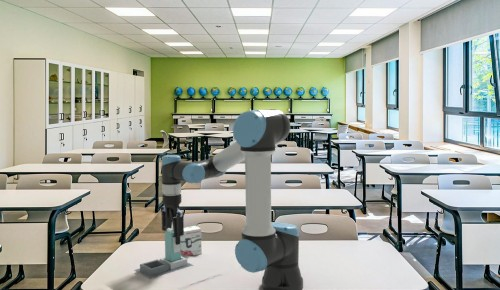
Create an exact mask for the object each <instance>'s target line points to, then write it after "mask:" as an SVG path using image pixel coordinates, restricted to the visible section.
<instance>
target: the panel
mask: <svg viewBox="0 0 500 290" xmlns="http://www.w3.org/2000/svg"><path fill="white" fill-rule="evenodd" d="M193 266H194V265H193V264H192V263H189V262H188V258H186V257H184V256H182V255H181V260H178V261H175V262H170V261H167V260H165V256H163V257H161V258H159V259H154V260H150V261H147V262H143V263H140V264H139V268H137V269H134V271H135V272H137V273H138V274H140V275H143V277H146V278H148V279H149V280H151V279H155V278H157V277H160V276H163V275H167V274H171V273H174V272H176V271H179V270H180V271H181V270H183V269H186V268H188V267H193Z"/></svg>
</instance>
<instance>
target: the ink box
mask: <svg viewBox="0 0 500 290" xmlns="http://www.w3.org/2000/svg"><path fill="white" fill-rule="evenodd" d="M202 254H203V252H202V228H200V227H199V226H198V225H191V226H186V227H184V235H182V236H181V255H184V256H185V255H187V256H189V257H193V256H197V255H202Z"/></svg>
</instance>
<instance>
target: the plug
mask: <svg viewBox="0 0 500 290" xmlns="http://www.w3.org/2000/svg"><path fill="white" fill-rule="evenodd" d="M173 236H174V230H173V228H172V227H171V228H167V230H166V231H165V232H164V253H165V255H164V257H165V260H167V261H170V262H175V261H178V260H181V256H182V253H181V236H180V251H179V252H176V253H174V252H173Z"/></svg>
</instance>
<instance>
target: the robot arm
mask: <svg viewBox="0 0 500 290" xmlns="http://www.w3.org/2000/svg"><path fill="white" fill-rule="evenodd" d="M290 131H291V122H290V119H289V117H288V115H286V113H284V112H283V111H281V110H279V109H253V110H251V109H250V110H247V111H244V112H242V113H240V114H239V115H238V116H237V118H236V119H235V121H234V123H233V128H232V134H233V139H234V140H236V141H235V142H233V143H231V145H228V146H227V147H226V148H224V149H222V150H221V151H219V152H217V153H216V154H215V155H213V156H212V157H210V158H208V159H203V160H198V161H191V162H186V161H182V158H181V156H180V155H179V154H166V155H163V156H162V157H161V167H160V168H161V194H162V204H163V205H164V206H160V211H161V212H160V214H161V230H162V232H164V233H165V231H166V230H167V228H171V229H173V230H174V236H173V252H174V253H176V252H179V251H180V236H182V235H184V228H185V227H184V226H185V223H184V221H185V220H184V216H185V211H181V208H180V204H181V203H182V194H181V193H182V182H183V183H184V182H185V183H188V184H200V183H201V182H202V181H203V180H206V179H212V178H219V177H221V176H223V175H225V174H226V172H227V171H228V170H229V169H231V168H233V167H234V166H236V165H238V164H239V163H241V162H243V161H244V164H245V165H244V169H245V171H244V173H245V176H244V177H245V179H244V181H245V226H244V227H243V228H242V229H241V239H240V240H238V242H237V243H236V245H235V249H234V254H235V259H236V261H237V262H238V264H239V265H240V266H241V268H242V269H244V270H245V271H246V272H248V273H252V274H254V273H258V272H263V271H264V273H263V275H262V279H261V286H262V287H261V288H262V289H264V290H302V289H303V288H304V278H303V276H302V273H301V270H300V264H299V256H300V255H299V250H300V249H299V248H300V247H299V245H300V243H299V242H300V235H299V234H300V232H299V228H298V226H296V225H295V224H291V223H286V222H272V163H271V162H272V159H271V158H272V155H273V154H274V153H275V151H276V145H277V144H279V143H281V142H283V141H284V140H286V138H288V136H289V134H290Z"/></svg>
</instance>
